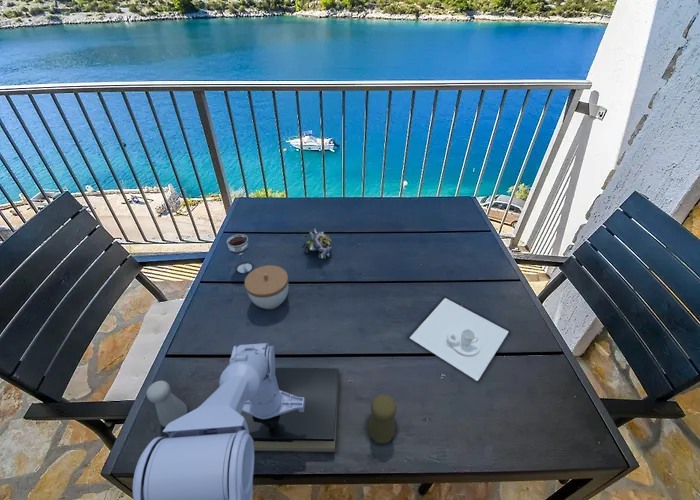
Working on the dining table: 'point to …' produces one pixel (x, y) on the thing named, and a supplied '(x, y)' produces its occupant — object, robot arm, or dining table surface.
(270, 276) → the lidded bowl
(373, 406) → the olive peanut shape
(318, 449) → the netbook
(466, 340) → the teacup and saucer
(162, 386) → the salt shaker
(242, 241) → the wineglass
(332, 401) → the panel
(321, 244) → the passion flower
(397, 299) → the dining table surface
